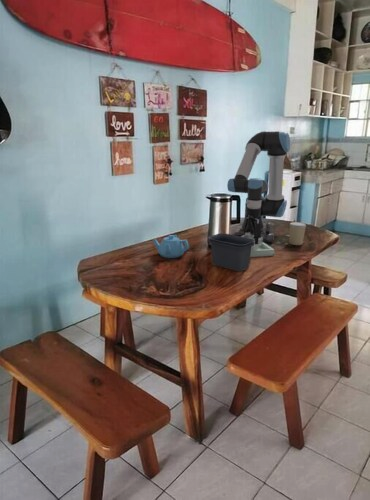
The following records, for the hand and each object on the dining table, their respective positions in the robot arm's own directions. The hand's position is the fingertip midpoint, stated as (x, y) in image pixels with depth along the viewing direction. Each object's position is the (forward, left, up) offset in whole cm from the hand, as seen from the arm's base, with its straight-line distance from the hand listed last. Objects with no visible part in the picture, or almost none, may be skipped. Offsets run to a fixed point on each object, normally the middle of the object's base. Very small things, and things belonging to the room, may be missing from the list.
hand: (251, 246), depth 205 cm
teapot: (-2, -45, -3) cm, 45 cm away
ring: (0, 0, +2) cm, 2 cm away
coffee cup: (-10, +33, -3) cm, 35 cm away
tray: (0, 0, -3) cm, 3 cm away
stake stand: (-16, +17, -3) cm, 23 cm away
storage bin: (+21, -19, -3) cm, 28 cm away
